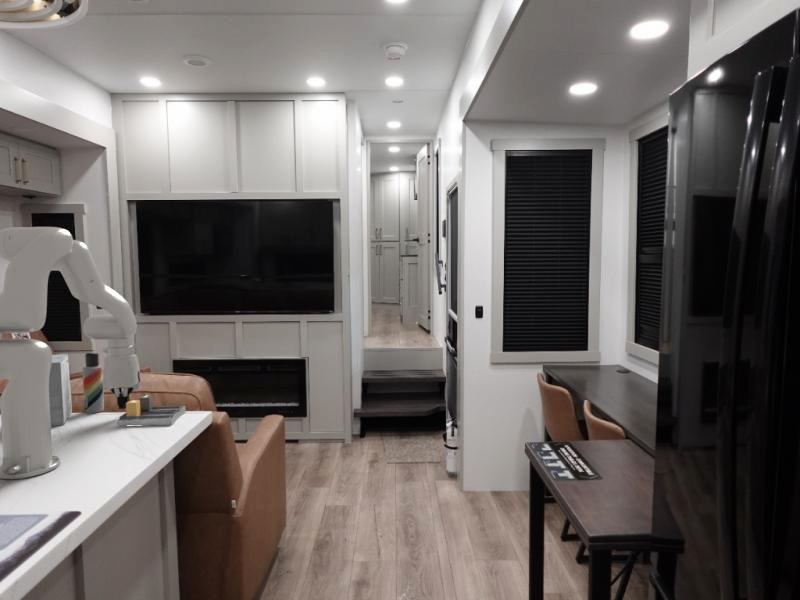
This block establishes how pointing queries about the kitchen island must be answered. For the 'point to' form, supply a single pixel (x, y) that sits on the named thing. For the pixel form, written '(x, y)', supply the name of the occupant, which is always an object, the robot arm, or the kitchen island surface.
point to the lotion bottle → (93, 384)
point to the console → (153, 416)
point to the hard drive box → (59, 390)
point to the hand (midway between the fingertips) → (123, 407)
